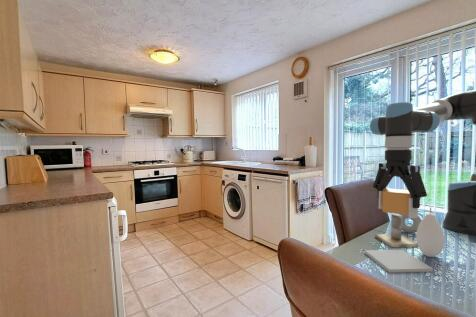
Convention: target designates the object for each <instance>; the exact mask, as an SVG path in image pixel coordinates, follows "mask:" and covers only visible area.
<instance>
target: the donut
mask: <svg viewBox="0 0 476 317" xmlns="http://www.w3.org/2000/svg"><path fill="white" fill-rule="evenodd" d="M398 215H402V232H404V233H406V234H407V233H408V234H415V233H417V229H418V226H419V224H420V222H421V221H422V219H421V216H419V215H418V218H408V216H409V215H403V214H398ZM407 219H410V220H411V222H412V225H409V224H407V223H406V222H405V220H407Z"/></svg>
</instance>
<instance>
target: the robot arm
mask: <svg viewBox="0 0 476 317" xmlns="http://www.w3.org/2000/svg"><path fill="white" fill-rule="evenodd" d="M470 119H471V123H472V125H474V126H476V89H473V90H472V89H471V90H468V91H462V92H458V93H456V94H453V95H452V94H451V95H449V96H446V97H443V98H439V99H436V100H434V101H432V102H430V104H426V105H422V106H418V107H413V104H412V103H411V102H410V101H403V102H394V103H390V104H388V105H387V106H386V108H385V115H380V116H377V117H373V118H372V120H371V121H370V124H369V127H370V131H371V133H373V134H374V135H378V136H383V135H385V137H384V138H385V139H384V141H385V142H384V148H385V151H384V160H385V161H386V162H380V163H378V170H377V173H376V176H375V179H374V182H373V184H372V187H373V188H374V189H376V190H377V200H378V209H379V210H383V188H387V187H388V186H389V184H390V182H391V181H392V180H393V178H394V177H396V178H399V179H400V180H402V182H403V184H404V185H405V188H406V190H408V191H409V193H410V195H411V197H409V216H408V218H407V219H409V218H418V216H419V214H418V213H419V212H418V211H419V209H420V207H421V206H420V205H421V198H425V197H427V196H428V193H427V190H426V187H425V185H424V181H423V178H422V176H421V167H420V165H411V163H410V162H411V160H412V150H411V148H413V147H412V145H413V144H412V142H413V137H412V136H413V133H431V132H434V131H435V130H436V129H438V128H439V126H440V123H441V122H444V121H454V120H455V121H456V120H470ZM442 227H443V228H444V229H446V230H449V231H453V232H457V233H462V234H467V235H468V234H469V235H476V180H465V181H463V180H462V181H451V182H450V183H448V188H447V212H446V214H445V216H444V219H443V220H442Z"/></svg>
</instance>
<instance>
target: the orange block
mask: <svg viewBox="0 0 476 317" xmlns="http://www.w3.org/2000/svg"><path fill="white" fill-rule="evenodd" d="M409 197H411V195H410V193H409V191H408V189H401V188H387V187H386V188H383V209H382V213H388V214H403V215H409Z"/></svg>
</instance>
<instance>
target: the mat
mask: <svg viewBox="0 0 476 317" xmlns="http://www.w3.org/2000/svg"><path fill="white" fill-rule="evenodd" d="M364 254H366V255H367V256H368V257H369V258H371V260H373V261H375V262H376V264H378V265H379V266H381V267H382V268H383V269H384V270H385V271H386V272H388V273H418V272H419V273H422V272H426V273H429V272H433V271H434V268H433V267H431V266H430V265H428V264H426V263H425V262H423V261H421V260H420V259H419V258H417V257H415V256H412V255H411V254H409V252H408V253H407V251H404V250H403V249H376V250H375V249H369V250H364Z"/></svg>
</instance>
